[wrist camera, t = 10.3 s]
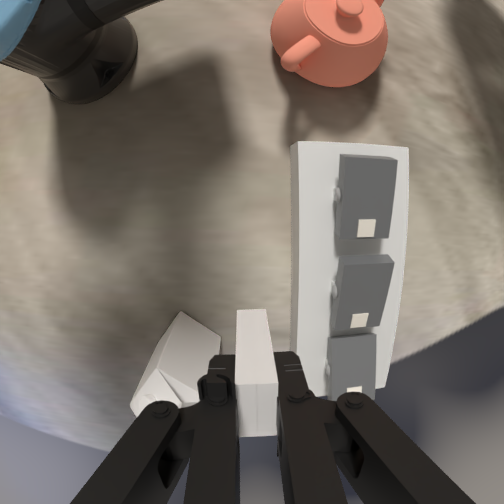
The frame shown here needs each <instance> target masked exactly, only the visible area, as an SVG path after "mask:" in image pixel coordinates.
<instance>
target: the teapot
mask: <svg viewBox="0 0 504 504" xmlns="http://www.w3.org/2000/svg"><path fill="white" fill-rule="evenodd" d="M383 1H384V0H284V1H283V2H282V4H281V5H280V6H279V8H278V9H277V11H276V13H275V15H274V17H273V20H272V24H271V40H272V43H273V46H274V48H275V50H276V52H277V53H278V55H279V56H280V58H281V65H282V67H283V68H284V69H286V70H287V71H290V72H294V71H295V72H296V73H297V74H299V75H300V76H302V77H303V78H305V79H307V80H309V81H311V82H313V83H316V84H319V85H323V86H327V87H346V86H350V85H354V84H356V83H359V82H361V81H363V80H364V79H366V78H367V77H368V76H369V75H370V74H372V73H373V72H374V71H375V69H376V68H377V67H378V66H379V64H380V62H381V61H382V59H383V57H384V54H385V51H386V47H387V42H388V32H387V25H386V22H385V18H384V15H383V13H382V11H381V9H380V7H381V5H382V3H383Z"/></svg>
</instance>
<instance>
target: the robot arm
mask: <svg viewBox="0 0 504 504" xmlns="http://www.w3.org/2000/svg"><path fill="white" fill-rule="evenodd" d="M160 1H163V0H0V64H3V65H6V66H9V67H12V68H15V69H18V70H21V71H23V72H26V73H29V74H32V75H34V76H37V77H39V79H40V80H41V81H42V82H43V83H44V85H45V87H46V88H47V90H48V91H49V92H50V93H51V94H52V95H53V96H54V97H56V98H58V99H60V100H62V101H65V102H68V103H72V104H84V103H89V102H92V101H95V100H97V99H99V98H101V97H103V96H105V95H106V94H108V93H109V92H110V91H112V90H113V89H114V88H115V87H116V86H117V85H118V84H119V83H120V82H121V81H122V80H123V79H124V77H125V76H126V74H127V73H128V71H129V70H130V68H131V66H132V64H133V62H134V59H135V56H136V51H137V36H136V32H135V30H134V28H133V26H132V25H131V24H130V22H129V21H128V20H127V19H126V18H125V17H124V16H126V15H128V14H130V13H133V12H135V11H137V10H140V9H142V8H145V7H147V6H150V5H152V4H155V3H157V2H160ZM197 387H198V394H199V402H198V403H196V404H194V405H192V406H188V407H183V408H178V406H177V405H176V404H175V403H173V402H170V401H164V400H160V401H155V402H152V403H150V404H148V405H147V406H146V407H145V408H144V409H143V410H142V412H141V413H140V414H139V416H138V417H137V418H136V420H135V421H134V422H133V423H132V425H131V426H130V427H129V429H128V430H127V431H126V432H125V434H124V435H123V436H122V438H121V439H120V440H119V442H118V443H117V444H116V445H115V447H114V448H113V449H112V451H111V452H110V453H109V454H108V456H107V457H106V458H105V460H104V461H103V462H102V463H101V465H100V466H99V467H98V469H97V470H96V471H95V472H94V474H93V475H92V476H91V477H90V479H89V480H88V481H87V483H86V484H85V485H84V486H83V488H82V489H81V490H80V492H79V493H78V494H77V495H76V497H75V498H74V499H73V500H72V502H71V503H70V504H167V502H168V500H169V498H170V496H171V494H172V493H173V491H174V489H175V487H176V485H177V483H178V481H179V479H180V477H181V475H182V473H183V471H184V469H185V467H186V466H187V463H188V461H189V458H190V463H189V470H188V477H187V483H186V490H185V497H184V504H240V446H239V437H253V436H272V435H277V433H278V445H277V456H279V461H280V468H281V475H282V484H283V492H284V500H285V504H348V503H347V500H346V496H345V492H344V489H343V486H342V482H341V479H340V476H339V473H338V469H337V466H338V467H339V469H340V470H341V472H342V473H343V475H344V476H345V477H346V479H347V480H348V482H349V483H350V485H351V486H352V488H353V489H354V490H355V492H356V493H357V495H358V496H359V497H360V499H361V500H362V502H363V503H364V504H476V503H475V502H474V501H473V500H472V499H470V498H469V496H467V495H466V494H465V493H464V492H463V491H462V490H461V489H460V488H459V487H458V486H457V485H456V484H455V483H454V482H453V481H452V480H451V479H450V478H449V477H448V476H447V475H446V474H445V473H444V472H443V471H442V470H441V469H440V468H439V467H438V466H437V465H436V464H435V463H434V462H433V461H432V460H431V459H430V458H429V457H428V456H427V455H426V454H425V453H424V452H423V451H422V450H421V449H420V448H419V447H418V446H417V445H416V444H415V443H414V442H413V441H412V440H411V439H410V438H409V437H408V436H407V435H406V434H405V433H404V432H403V431H402V430H401V429H400V428H399V427H398V426H397V425H396V424H395V423H394V422H393V421H392V420H391V419H390V417H389V416H388V415H387V414H385V412H384V411H383V410H382V409H381V408H380V407H379V406H378V405H377V404H376V403H375V402H374V401H373V400H372V399H371V398H370V397H369V396H367V395H366V394H364V393H361V392H353V391H352V392H346V393H344V394H342V395H340V396H339V397H338V398H337V401H331V400H324V399H320V398H318V397H316V396H315V394H314V393H313V391H311V390H310V389H309V388H308V384H307V381H306V378H305V374H304V371H303V368H302V365H301V361H300V358H299V356H298V355H297V354H296V353H294V352H293V351H287V352H273V349H272V343H271V337H270V331H269V325H268V320H267V314H266V309H247V310H237V328H236V355H214V356H213V357H212V358H211V360H210V361H209V365H208V372H207V374H206V375H203V376H202V377H201V378H199V380H198V382H197ZM336 464H337V466H336Z"/></svg>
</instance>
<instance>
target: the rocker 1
mask: <svg viewBox="0 0 504 504" xmlns="http://www.w3.org/2000/svg"><path fill="white" fill-rule="evenodd" d="M397 164H398V160H396V159H394V158H392V157H386V156H371V155H353V154H340V158H339V178H338V188H336V189H335V201H336V202H337V209H336V222H335V234H336V235H337V237H338V238H339V240H344V239H388V238H389V232H390V225H391V218H392V210H393V202H394V194H395V185H396V175H397Z"/></svg>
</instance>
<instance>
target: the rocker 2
mask: <svg viewBox="0 0 504 504" xmlns="http://www.w3.org/2000/svg"><path fill="white" fill-rule="evenodd" d="M376 338H377V334H374V333H371V332H370V333H361V334H351V335H341V336H330V337H328V365H326V375H327V377H328V400H331V401H337V398H338V397H339V396H340V395H342V394H344V393H346V392H352V391H353V392H361V393H364V394H366V395H367V396H369V397H370V398H371V399H372V400H374V399H375V383H376Z"/></svg>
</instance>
